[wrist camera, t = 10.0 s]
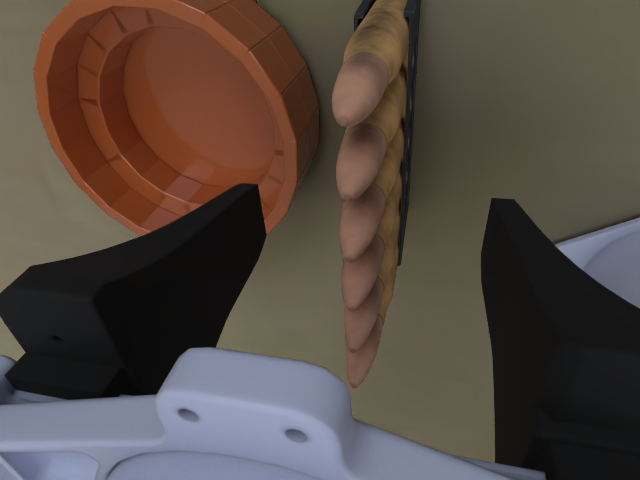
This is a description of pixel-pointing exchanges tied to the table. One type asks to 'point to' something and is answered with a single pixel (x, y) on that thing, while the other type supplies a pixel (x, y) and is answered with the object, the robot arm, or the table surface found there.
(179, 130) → the bowl
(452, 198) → the table surface
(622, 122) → the table surface
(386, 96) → the ammunition clip
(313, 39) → the table surface
